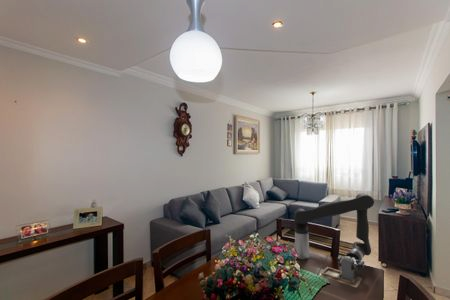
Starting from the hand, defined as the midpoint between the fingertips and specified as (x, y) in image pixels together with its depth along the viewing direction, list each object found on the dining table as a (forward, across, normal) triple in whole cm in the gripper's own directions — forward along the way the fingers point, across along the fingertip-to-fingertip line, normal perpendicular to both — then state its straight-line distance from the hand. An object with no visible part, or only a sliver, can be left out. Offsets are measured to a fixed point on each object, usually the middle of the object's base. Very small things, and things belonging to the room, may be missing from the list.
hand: (346, 266), depth 130 cm
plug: (-2, 0, +8) cm, 8 cm away
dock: (-2, -4, +9) cm, 10 cm away
